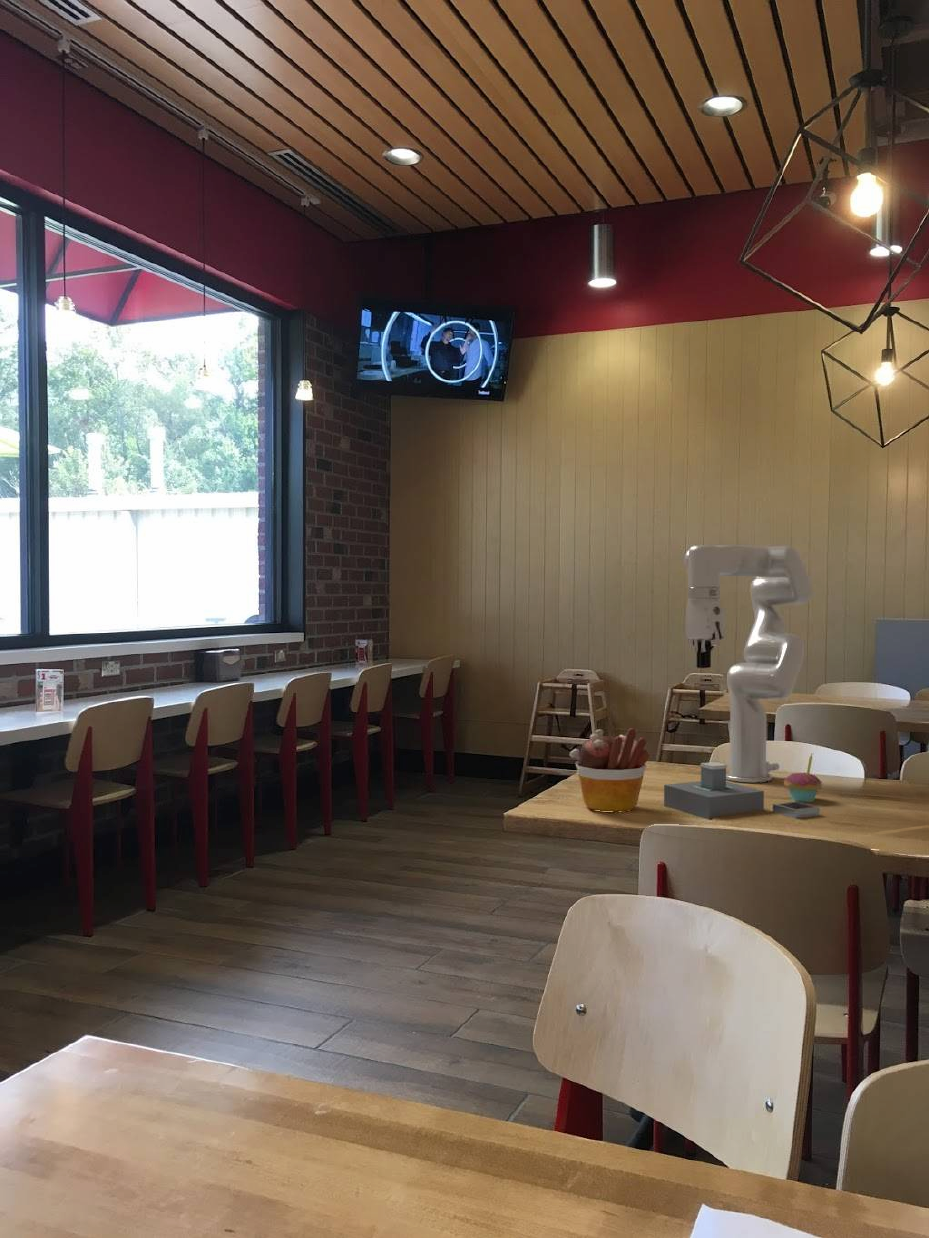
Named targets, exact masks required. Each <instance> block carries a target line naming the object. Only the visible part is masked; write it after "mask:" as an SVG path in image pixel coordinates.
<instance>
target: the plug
mask: <svg viewBox="0 0 929 1238" xmlns="http://www.w3.org/2000/svg"><path fill="white" fill-rule="evenodd" d="M727 768H728V767H727V764H724V763H720V762H716V761H713V762H700V781H701V788H705V789H709V790H711V791H717V790H726V782H727V779H726V772H727Z"/></svg>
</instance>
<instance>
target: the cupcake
mask: <svg viewBox="0 0 929 1238" xmlns="http://www.w3.org/2000/svg"><path fill="white" fill-rule="evenodd" d="M808 757H809V758H808V762H807V763H808V764H807V768H806V772H797V773H796V772H794V773H791V774H790V775H788V776H787V777H786V778H784V782H783V786H785V787H786V789H787V788H788V791H789V793H790V797H791V800H793V801H794V802H796V801H797V802H800V803H809V802H814V801H815V798H816V796H817V793H818V791H819V790H821V789H822V783H823V782H822V780H820V778H819V777H817V776H816V775H814V774H811V773H810V772H811V767H812V762H813V753H810V756H808Z"/></svg>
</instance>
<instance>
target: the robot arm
mask: <svg viewBox="0 0 929 1238" xmlns="http://www.w3.org/2000/svg"><path fill="white" fill-rule="evenodd" d="M684 566H685V568H686V569H687V572H688V596H687V597H688V598H687V604H686V610H685V623H684V624H685V631H684V632H685V636H686V638H687V642H688V643H689V644H691V645H692V646H693V647H694V652H696V668H698V669H709V668H711V665H712V664H711V663H712V661H711V659H712V656H711V654H712V652H713V650H714V647H716V646H719V645H720V643H721V640H723V639H724V638H725V615H724V608H723V603H722V600H721V599H720V594H721V592H720V577H721V576H722V577H731V578H735V577H736V578H754V579H753V580H752V581H751V584H750V587H749V595H750V600H751V604H752V610H753V614H754V622H753V624H752V627H751V630H750V631H749V635H748V638H747V640H746V642H745V646H744V649H743V658H744V661H745V662H737V663H735V664H733V665H732V666H730V668H729V669H728V671H727V673H726V674H727V675H726V685H727V691H728V696H729V712H730V713H729V714H730V715H729V716H730V717H729V719H730V721H729V770H728V771H726V780H728V781H733V782H737V783H740V782H741V783H751V784H752V783H753V784H756V783H757V784H758V782H759V783H767V782H766V781H768V782H770V780H771V781H772V780H773V775H771V774H770V772H771V771H779V770H780V765H779V763H778V762H774V763H770V762H769V761H767V721H768V719H767V713H766V710H765V708H764V705H763V704H762V703H761V701H760V700H774V701H781V700H782V701H783V700H786V699H788V698H789V697H790V696H791V695H792V692H793V691H794V687H795V684H796V682H797V679H798V677H799V674H800V670H801V668H802V665H803V662H804V657H805V645H804V642H803V640H802V638H801V637H800V636H799V635H797V634H793V633H788V632H787V633H786V632H785V630H786V622H785V620H784V618H783V616H782V615H781V614H780V612H779V611H778V610H777V609H776V607H775V606H803V605H806V604H807V603H808V602H810V601H811V600H812V596H813V585H812V581H811V578H810V576H809V573H808V572H807V569H806V566H805V564H804V562H803V560H802V558H801V556H800V554H799V553H798V552H797V550H796V549H795V548H793V547H792V546H788V545H779V546H778V545H775V546H774V545H773V546H772V545H771V546H766V545H765V546H763V545H762V546H760V545H759V546H758V545H746V544H740V545H739V544H737V545H731V544H719V545H718V544H717V545H716V544H715V545H713V544H707V545H706V544H700V545H693V546H691V547H690V548H688V550H687V551H686V552H685V556H684Z"/></svg>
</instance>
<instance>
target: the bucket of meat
mask: <svg viewBox="0 0 929 1238" xmlns="http://www.w3.org/2000/svg"><path fill="white" fill-rule="evenodd" d="M603 734H604V730H603V729H600V728H599V729H596V730H595V732H594V733H592V734H590V735H589V739H586V740H585V741H584V742H583V743H582V745H581V749H580V750H579V749H577V748H574V749H573V750H571V751H570V752H569V756H570V758H571V759H576V760H577V761H576V762H575V767H576V770H577V774H578V780H579V785H580V789H581V793H582V800H583V803H584V804H585V805H586V807H587V808H588V810H590V809H593V810H600V811H613V812H619V811H628V810H630V811H632V810H633V809H634V808H635V807H636V806H637V804H638V801H639V797H640V792H641V788H642V783H643V780H644V776H645V771H646V769H647V764H646V763H647V761H648V759H649V758H650V754H649V752H648V751H647V749H645V747H646V745H647V739H646V738H645V737H640V738H639V739H638V740H636V736H637V732H636V728H633V727H630V728H629V729H628V730H627V732H626V735H623V734H619V736H618V735H617V736H615V737H614V736H612V735H603ZM631 809H632V810H631ZM593 810H592V811H593ZM628 812H629V811H628Z"/></svg>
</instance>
